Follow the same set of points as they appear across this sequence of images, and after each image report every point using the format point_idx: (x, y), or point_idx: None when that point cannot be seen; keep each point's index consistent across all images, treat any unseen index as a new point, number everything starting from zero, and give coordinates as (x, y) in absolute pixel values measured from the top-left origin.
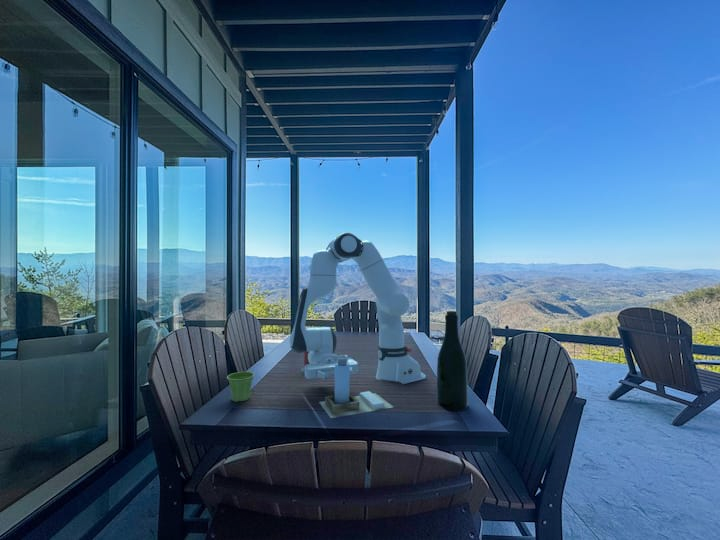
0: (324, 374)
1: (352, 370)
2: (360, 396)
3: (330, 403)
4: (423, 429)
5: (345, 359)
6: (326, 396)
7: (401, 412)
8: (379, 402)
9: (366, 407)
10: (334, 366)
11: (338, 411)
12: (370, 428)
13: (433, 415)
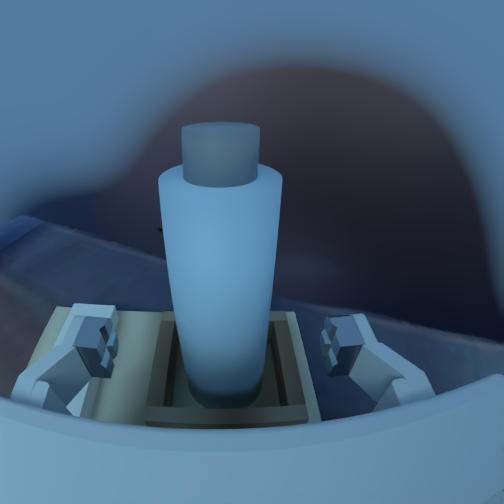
0: (353, 314)
1: (74, 316)
2: None
3: (291, 341)
4: (94, 238)
5: (203, 123)
6: (300, 418)
7: (54, 300)
8: (84, 311)
9: (130, 339)
10: (210, 431)
11: None
12: None
13: (23, 266)
